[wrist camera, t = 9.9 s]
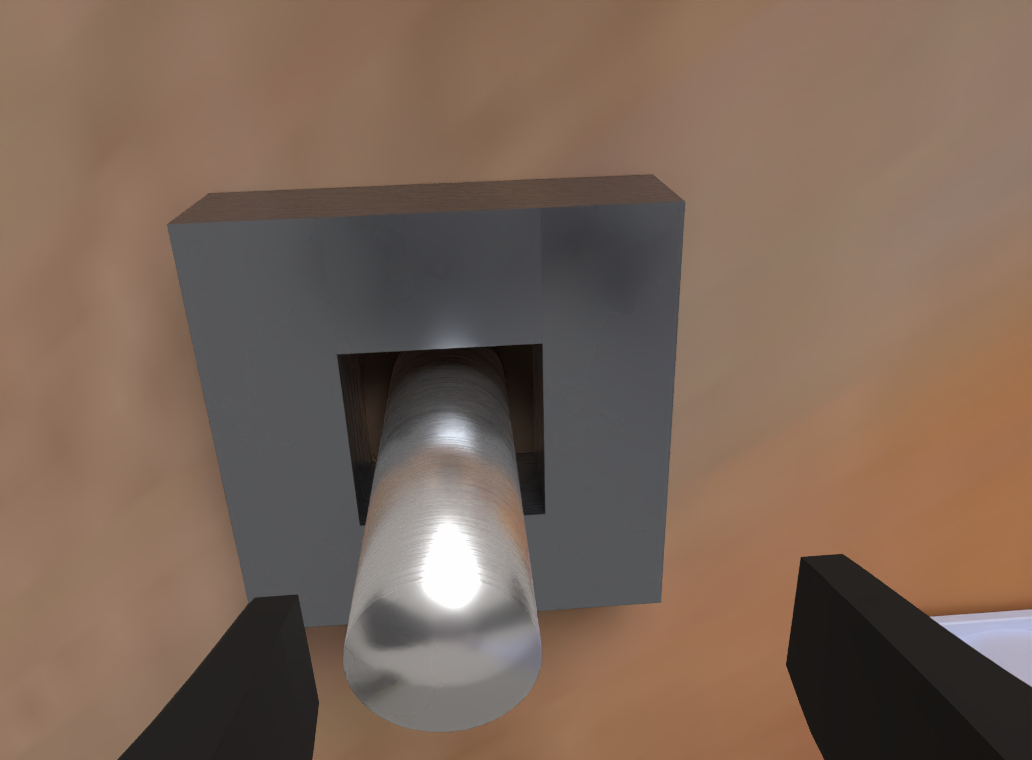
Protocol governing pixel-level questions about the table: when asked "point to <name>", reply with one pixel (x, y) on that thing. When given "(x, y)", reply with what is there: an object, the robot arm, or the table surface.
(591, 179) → the clevis block
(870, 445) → the table surface
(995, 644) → the robot arm
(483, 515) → the pin
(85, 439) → the table surface
